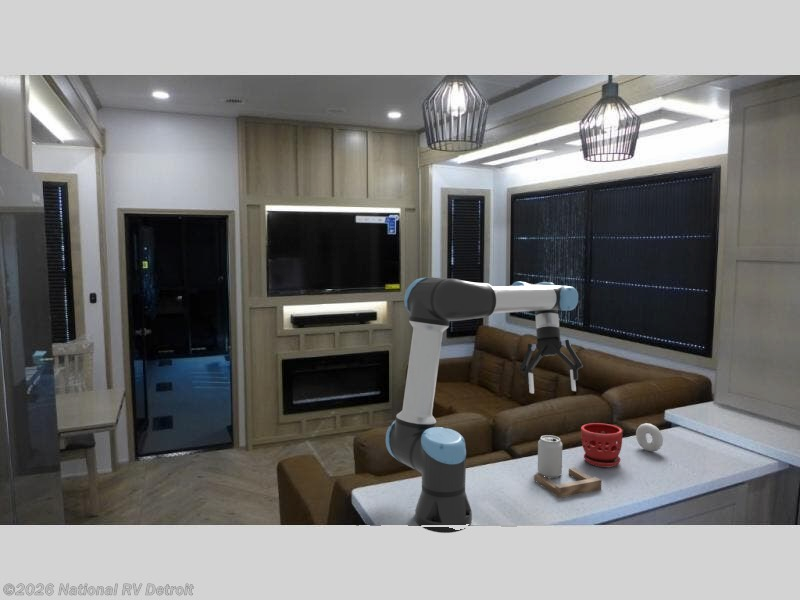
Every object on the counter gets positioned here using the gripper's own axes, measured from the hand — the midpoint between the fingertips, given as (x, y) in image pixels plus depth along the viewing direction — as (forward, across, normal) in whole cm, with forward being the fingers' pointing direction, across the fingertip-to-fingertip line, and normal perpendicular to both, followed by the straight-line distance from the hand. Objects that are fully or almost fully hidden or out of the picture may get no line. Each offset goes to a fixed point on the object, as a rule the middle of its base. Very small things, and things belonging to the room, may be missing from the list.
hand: (552, 392), depth 171 cm
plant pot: (+22, -8, -23) cm, 33 cm away
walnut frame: (+28, -2, 0) cm, 28 cm away
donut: (+18, -22, -42) cm, 50 cm away
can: (+26, +4, -5) cm, 27 cm away
